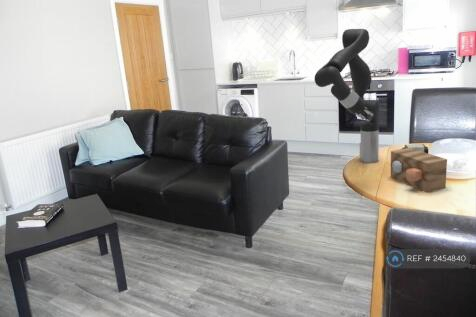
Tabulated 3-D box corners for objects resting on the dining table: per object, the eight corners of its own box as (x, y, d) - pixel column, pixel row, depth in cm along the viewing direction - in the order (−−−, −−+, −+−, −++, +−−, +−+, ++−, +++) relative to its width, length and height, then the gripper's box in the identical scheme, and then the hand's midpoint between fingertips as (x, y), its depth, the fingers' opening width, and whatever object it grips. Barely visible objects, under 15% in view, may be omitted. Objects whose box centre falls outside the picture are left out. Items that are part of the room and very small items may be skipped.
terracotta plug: (405, 179, 178) (405, 167, 176) (424, 174, 181) (425, 163, 179) (414, 183, 172) (414, 171, 171) (434, 178, 176) (435, 166, 174)
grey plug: (392, 171, 189) (392, 159, 188) (410, 166, 193) (411, 155, 191) (400, 174, 184) (400, 162, 183) (419, 169, 188) (420, 158, 186)
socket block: (390, 177, 193) (391, 151, 190) (407, 173, 196) (408, 147, 193) (427, 192, 173) (428, 163, 169) (445, 187, 176) (447, 159, 172)
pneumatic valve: (427, 167, 202) (428, 144, 198) (403, 168, 204) (403, 145, 200) (425, 163, 207) (426, 141, 203) (400, 164, 209) (401, 142, 206)
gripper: (365, 95, 169) (389, 119, 176) (347, 92, 181) (370, 115, 188) (355, 109, 169) (379, 133, 176) (337, 105, 181) (360, 128, 188)
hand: (374, 123), depth 182 cm, fingers closed
